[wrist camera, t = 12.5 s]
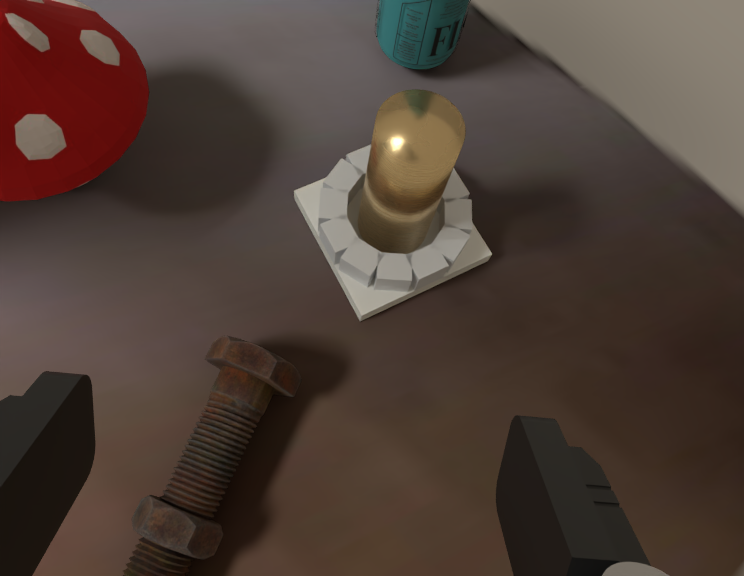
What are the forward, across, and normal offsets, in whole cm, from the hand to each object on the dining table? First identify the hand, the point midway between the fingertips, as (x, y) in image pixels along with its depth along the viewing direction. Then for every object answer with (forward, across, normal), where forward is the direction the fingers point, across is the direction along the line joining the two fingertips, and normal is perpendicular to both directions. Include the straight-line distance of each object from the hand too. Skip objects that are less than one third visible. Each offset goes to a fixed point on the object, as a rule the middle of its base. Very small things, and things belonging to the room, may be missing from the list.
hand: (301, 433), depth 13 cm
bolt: (+22, +6, +20) cm, 30 cm away
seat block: (+34, -4, +7) cm, 35 cm away
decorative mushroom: (+35, +19, +6) cm, 40 cm away
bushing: (+33, -4, +6) cm, 33 cm away
